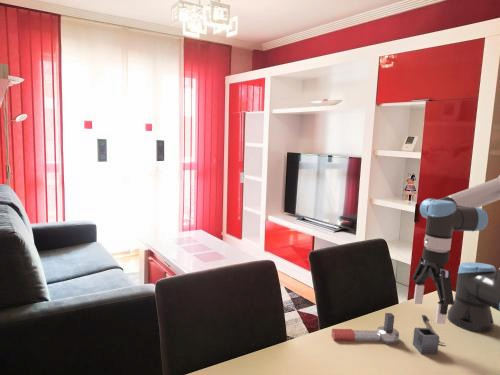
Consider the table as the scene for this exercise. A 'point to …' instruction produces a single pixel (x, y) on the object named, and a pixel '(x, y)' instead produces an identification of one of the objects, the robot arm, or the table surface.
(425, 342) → the socket
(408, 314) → the table surface
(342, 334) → the ratchet
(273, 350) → the table surface
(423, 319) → the tomahawk
